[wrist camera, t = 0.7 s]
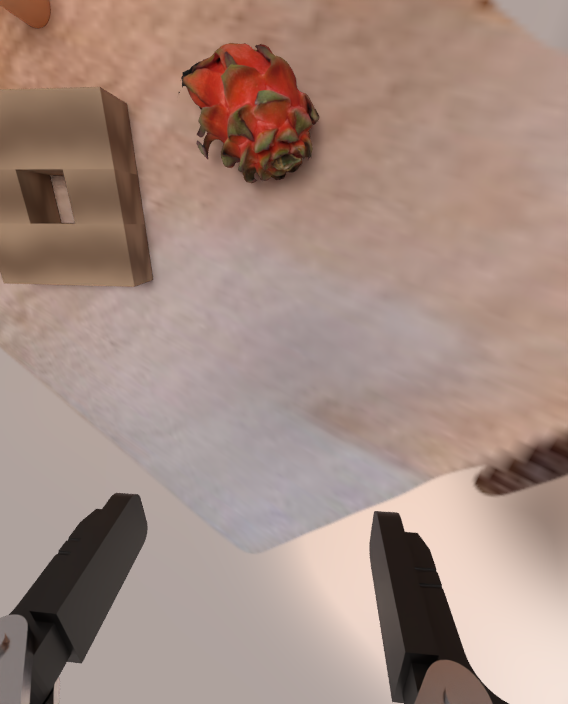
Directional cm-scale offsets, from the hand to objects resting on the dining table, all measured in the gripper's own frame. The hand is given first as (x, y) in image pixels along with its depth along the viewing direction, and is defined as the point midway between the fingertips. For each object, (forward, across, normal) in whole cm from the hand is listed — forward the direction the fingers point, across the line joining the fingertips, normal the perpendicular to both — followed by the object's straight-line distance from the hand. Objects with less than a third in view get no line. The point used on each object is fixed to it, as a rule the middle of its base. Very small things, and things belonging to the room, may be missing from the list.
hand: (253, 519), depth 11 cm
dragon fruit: (+27, +4, -17) cm, 32 cm away
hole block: (+27, +23, -11) cm, 37 cm away
